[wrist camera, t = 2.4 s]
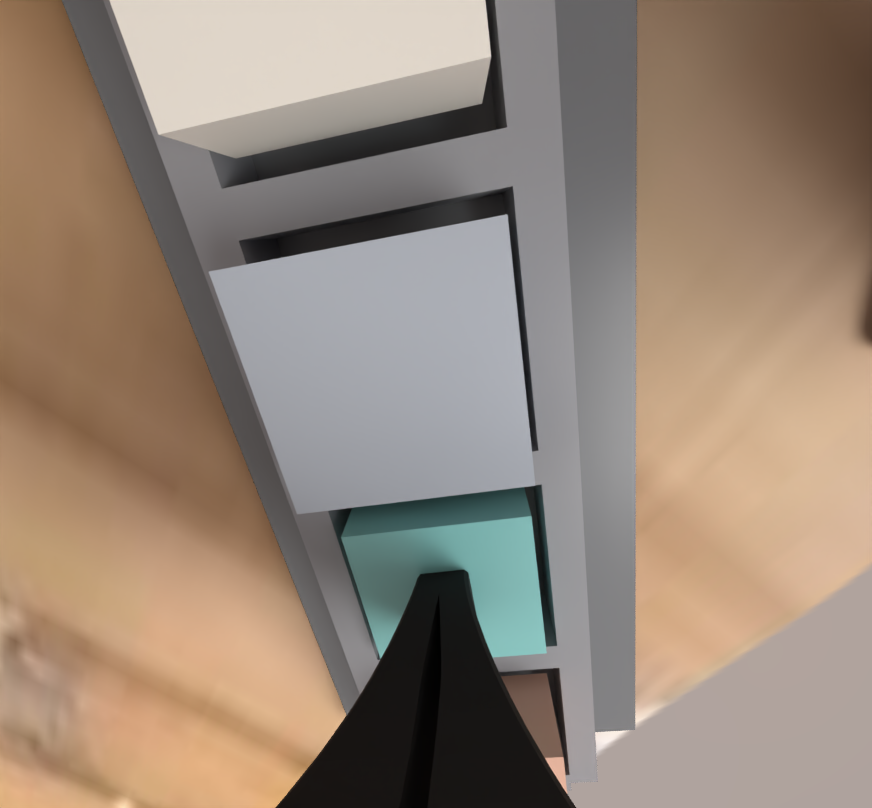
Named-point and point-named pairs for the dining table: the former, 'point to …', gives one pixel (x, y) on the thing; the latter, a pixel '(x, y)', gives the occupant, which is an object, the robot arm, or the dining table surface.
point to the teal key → (451, 562)
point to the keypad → (535, 295)
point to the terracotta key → (538, 717)
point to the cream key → (301, 66)
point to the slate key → (387, 366)
